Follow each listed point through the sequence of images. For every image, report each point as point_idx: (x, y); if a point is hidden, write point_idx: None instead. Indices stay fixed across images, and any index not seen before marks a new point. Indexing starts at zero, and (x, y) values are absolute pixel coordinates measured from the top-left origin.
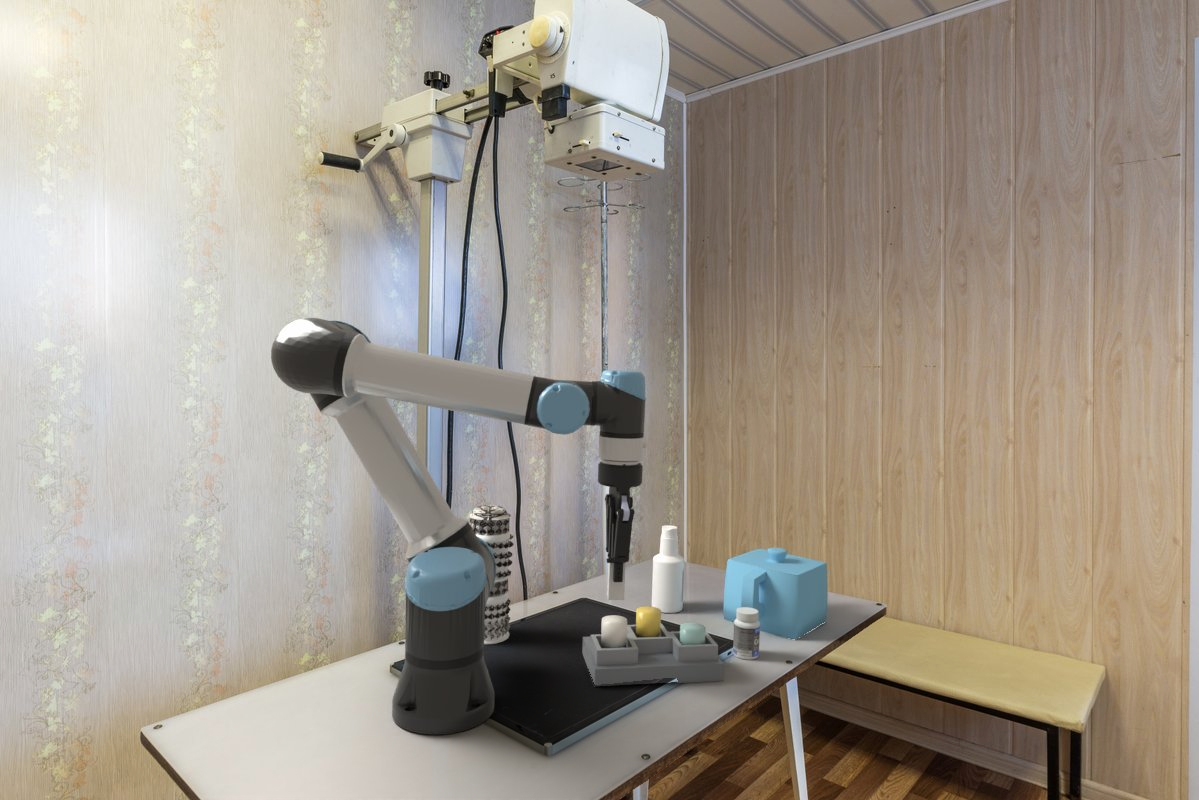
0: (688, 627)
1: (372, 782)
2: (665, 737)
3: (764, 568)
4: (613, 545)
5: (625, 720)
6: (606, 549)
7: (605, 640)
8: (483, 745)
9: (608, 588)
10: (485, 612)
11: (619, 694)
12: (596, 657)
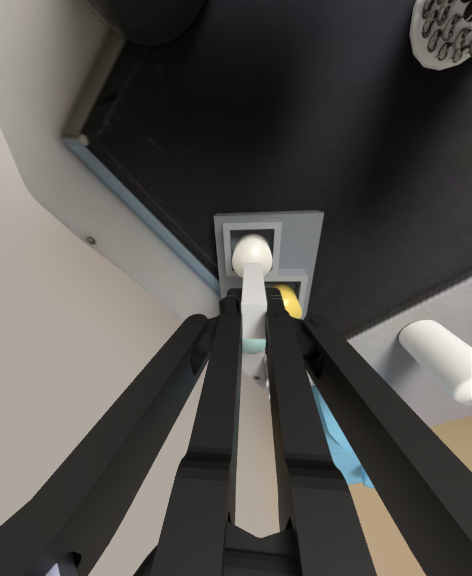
0: (251, 339)
1: None
2: (125, 263)
3: (347, 451)
4: (212, 350)
5: (148, 234)
6: (311, 319)
7: (240, 239)
8: (53, 32)
9: (248, 271)
10: None
11: (200, 238)
12: (227, 221)
